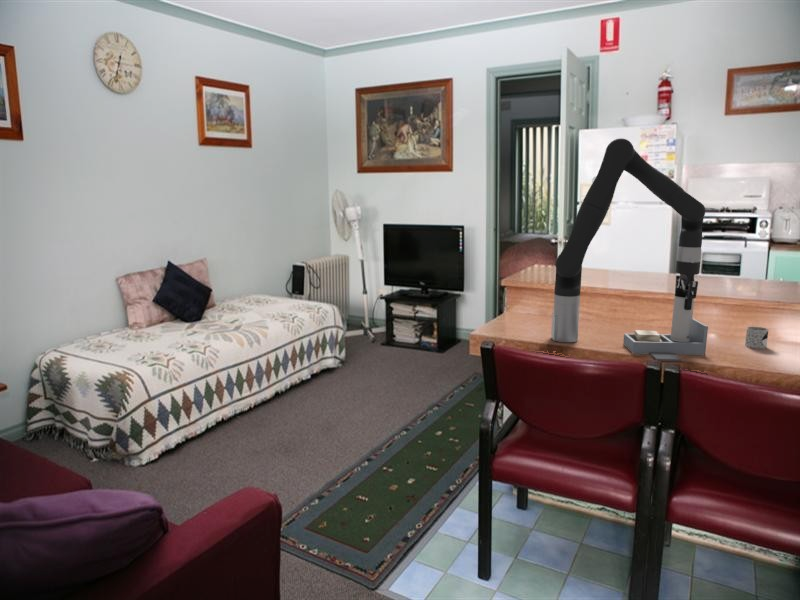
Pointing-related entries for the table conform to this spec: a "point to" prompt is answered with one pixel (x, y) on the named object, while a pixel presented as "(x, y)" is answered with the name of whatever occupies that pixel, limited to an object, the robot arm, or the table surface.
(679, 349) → the tray
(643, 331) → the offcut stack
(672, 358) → the mat
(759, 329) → the notched grey stone block
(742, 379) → the table surface
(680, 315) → the travel mug
